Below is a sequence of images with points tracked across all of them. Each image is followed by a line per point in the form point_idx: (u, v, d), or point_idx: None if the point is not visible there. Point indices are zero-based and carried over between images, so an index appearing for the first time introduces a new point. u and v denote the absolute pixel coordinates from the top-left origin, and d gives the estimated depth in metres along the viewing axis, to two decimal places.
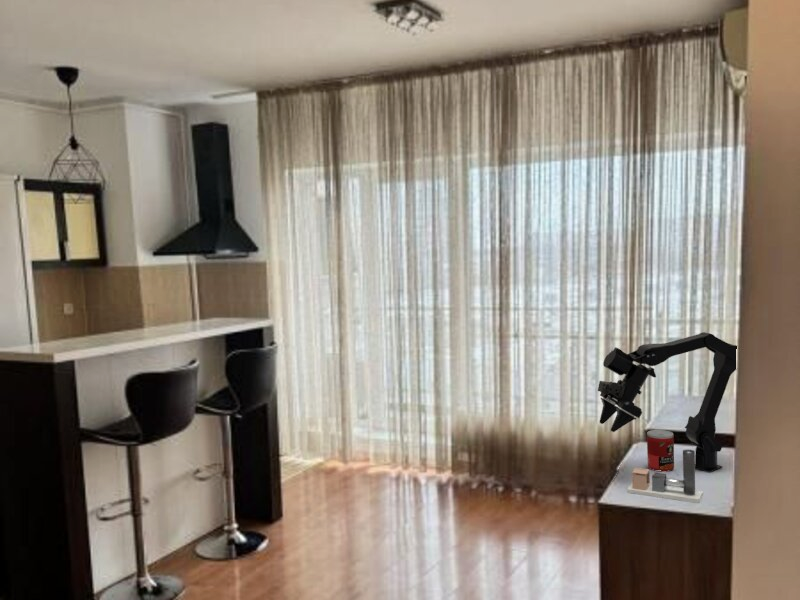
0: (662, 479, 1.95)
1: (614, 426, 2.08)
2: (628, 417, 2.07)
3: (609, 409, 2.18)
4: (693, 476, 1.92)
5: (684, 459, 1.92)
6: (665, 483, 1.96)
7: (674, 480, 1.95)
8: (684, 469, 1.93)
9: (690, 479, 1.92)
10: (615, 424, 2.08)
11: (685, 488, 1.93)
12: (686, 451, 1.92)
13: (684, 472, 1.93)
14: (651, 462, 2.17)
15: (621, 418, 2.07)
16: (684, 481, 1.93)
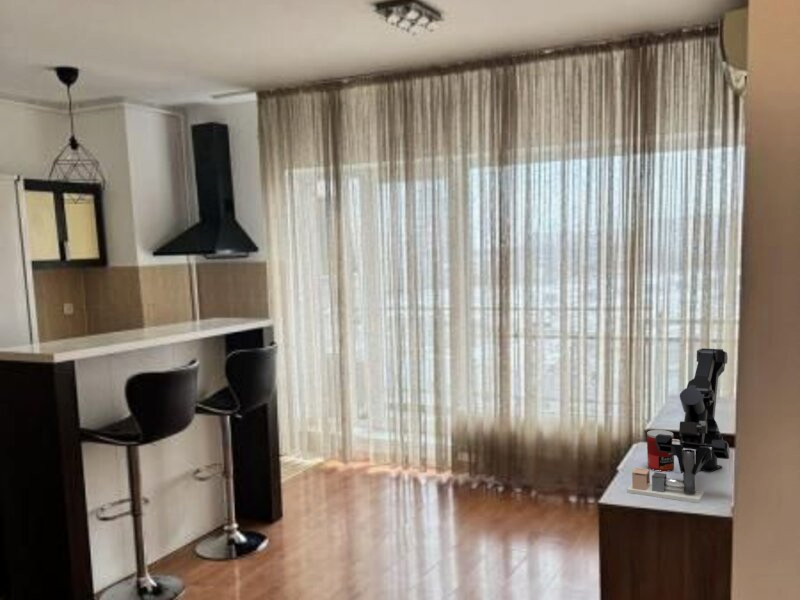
0: (662, 479, 1.95)
1: (697, 468, 1.91)
2: (704, 458, 1.94)
3: (682, 456, 1.96)
4: (693, 476, 1.92)
5: (684, 459, 1.92)
6: (665, 483, 1.96)
7: (674, 480, 1.95)
8: (684, 469, 1.93)
9: (690, 479, 1.92)
10: (698, 466, 1.92)
11: (685, 488, 1.93)
12: (686, 451, 1.92)
13: (684, 472, 1.93)
14: (651, 462, 2.17)
15: None
16: (684, 481, 1.93)
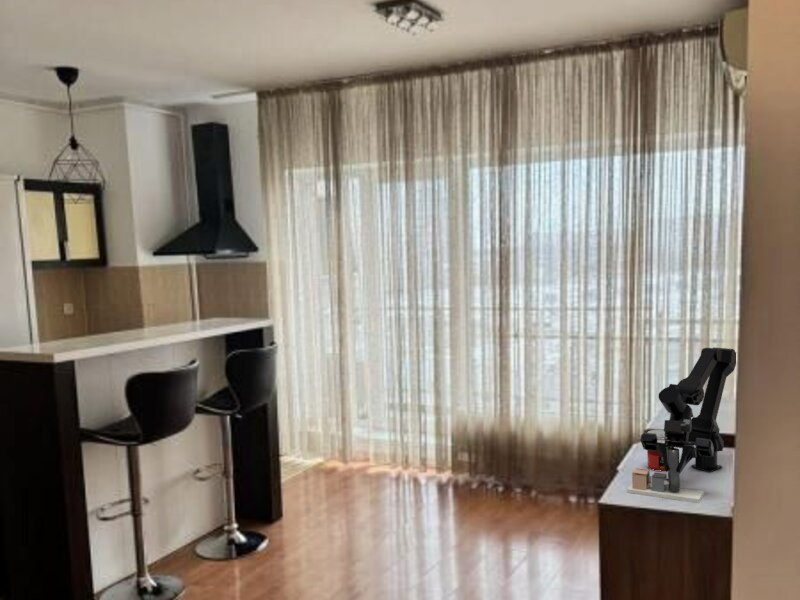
0: (662, 479, 1.95)
1: (682, 466, 1.93)
2: (689, 456, 1.96)
3: (667, 455, 1.98)
4: (678, 474, 1.94)
5: (669, 457, 1.94)
6: (650, 481, 1.98)
7: None
8: (668, 467, 1.95)
9: (675, 477, 1.94)
10: (683, 464, 1.94)
11: (670, 486, 1.95)
12: (671, 449, 1.95)
13: (669, 470, 1.95)
14: (651, 462, 2.17)
15: (685, 457, 1.95)
16: (669, 479, 1.95)
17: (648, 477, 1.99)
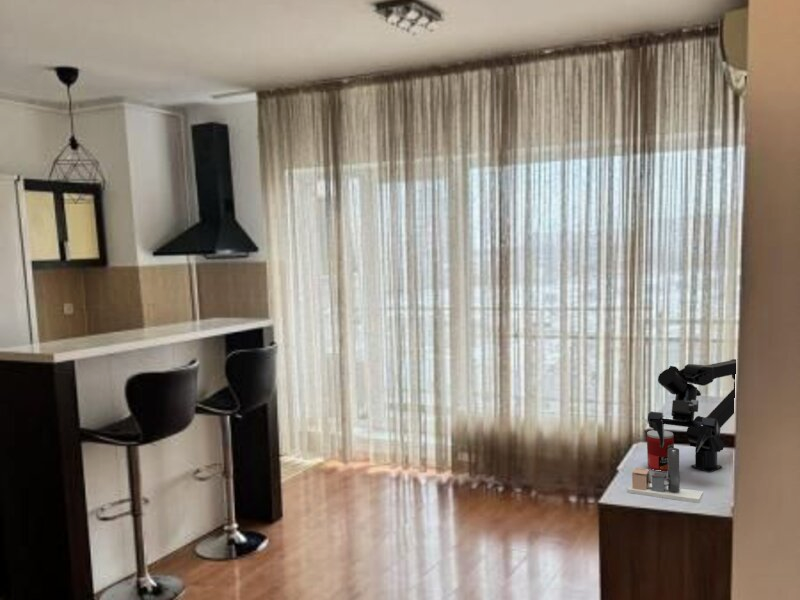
0: (662, 479, 1.95)
1: (699, 446, 2.00)
2: (705, 436, 2.03)
3: (663, 432, 2.07)
4: (677, 474, 1.94)
5: (669, 457, 1.95)
6: (650, 481, 1.98)
7: None
8: (668, 467, 1.95)
9: (674, 477, 1.94)
10: (700, 444, 2.00)
11: (670, 486, 1.95)
12: (671, 449, 1.95)
13: (669, 470, 1.95)
14: (651, 462, 2.17)
15: None
16: (669, 479, 1.95)
17: (648, 477, 1.99)
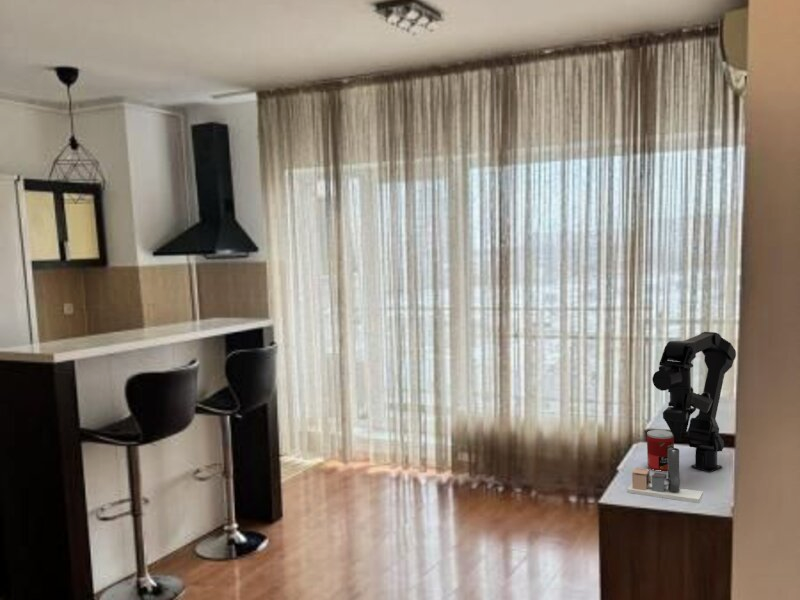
0: (662, 479, 1.95)
1: None
2: None
3: None
4: (677, 474, 1.94)
5: (669, 457, 1.95)
6: (650, 481, 1.98)
7: None
8: (668, 467, 1.95)
9: (674, 477, 1.94)
10: None
11: (670, 486, 1.95)
12: (671, 449, 1.95)
13: (669, 470, 1.95)
14: (651, 462, 2.17)
15: None
16: (669, 479, 1.95)
17: (648, 477, 1.99)
